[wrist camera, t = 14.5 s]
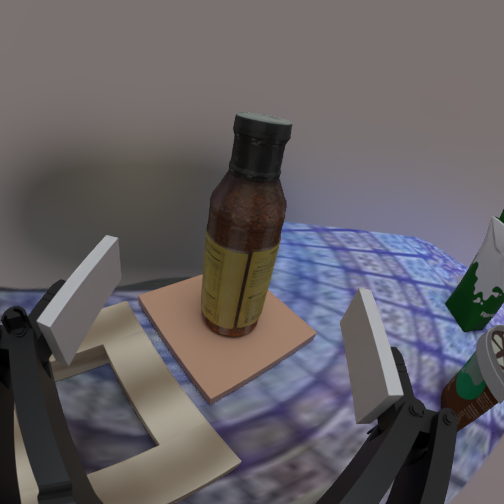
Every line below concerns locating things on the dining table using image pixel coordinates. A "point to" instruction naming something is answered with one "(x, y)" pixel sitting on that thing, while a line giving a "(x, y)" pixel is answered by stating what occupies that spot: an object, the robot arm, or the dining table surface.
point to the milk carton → (481, 282)
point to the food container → (478, 380)
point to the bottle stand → (151, 415)
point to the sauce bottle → (245, 226)
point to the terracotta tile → (221, 338)
